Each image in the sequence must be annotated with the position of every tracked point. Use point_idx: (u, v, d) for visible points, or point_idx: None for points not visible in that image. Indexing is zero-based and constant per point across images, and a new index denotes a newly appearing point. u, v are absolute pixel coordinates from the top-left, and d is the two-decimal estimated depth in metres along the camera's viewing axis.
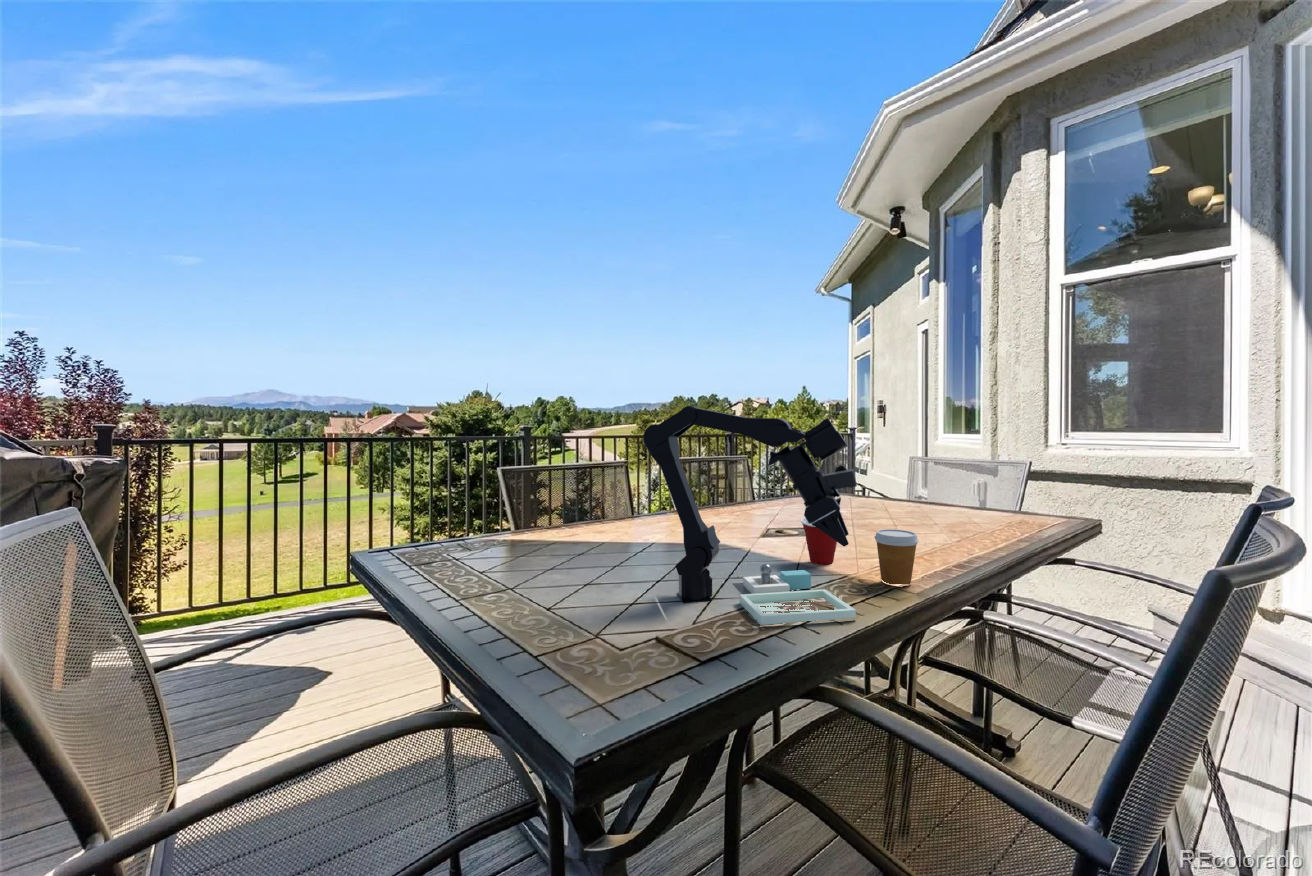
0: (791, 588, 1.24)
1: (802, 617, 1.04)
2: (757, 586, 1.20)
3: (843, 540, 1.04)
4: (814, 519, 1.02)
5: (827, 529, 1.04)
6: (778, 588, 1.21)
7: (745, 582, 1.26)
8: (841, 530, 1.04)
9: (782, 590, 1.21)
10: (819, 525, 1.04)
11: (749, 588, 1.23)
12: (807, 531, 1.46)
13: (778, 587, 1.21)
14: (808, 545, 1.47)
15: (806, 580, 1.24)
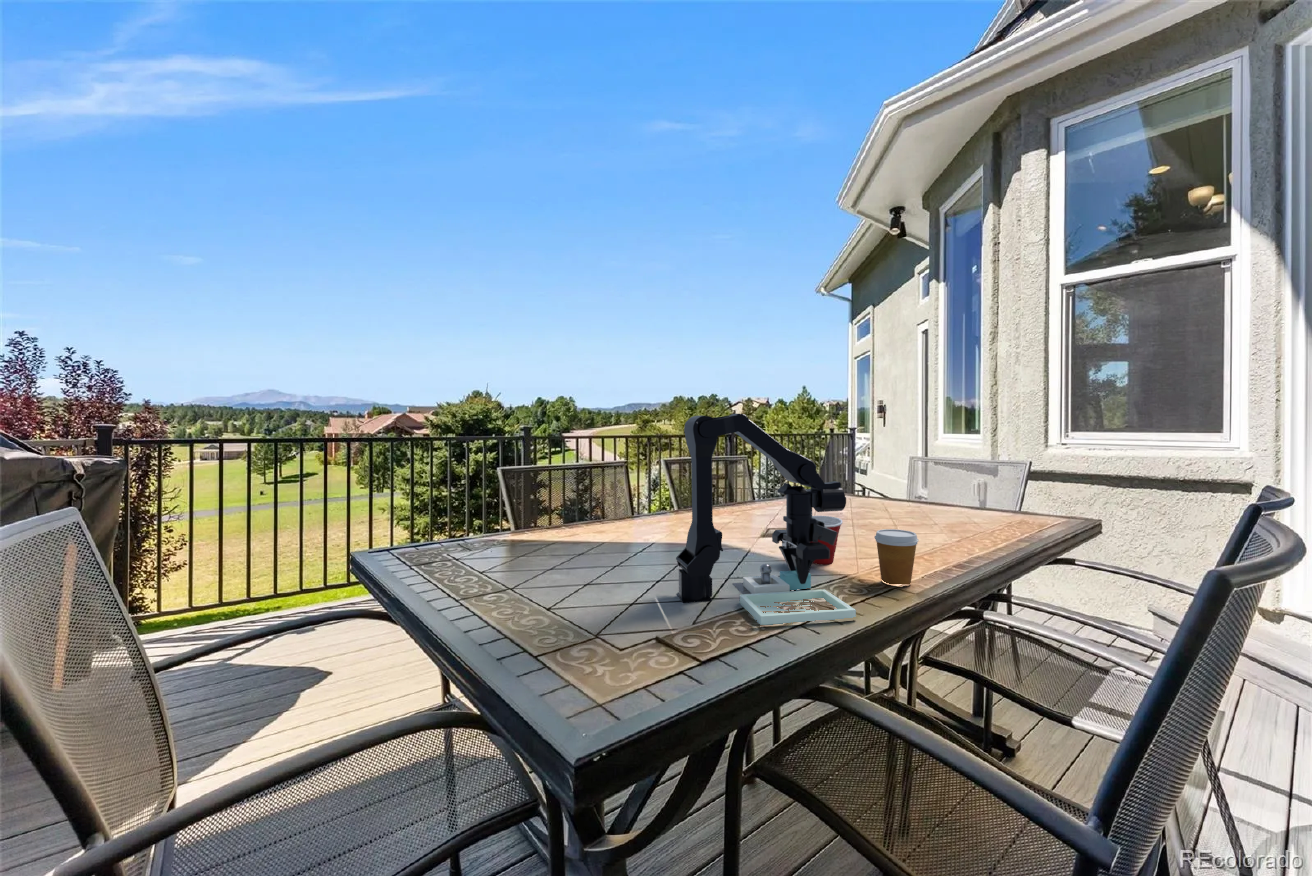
0: (791, 588, 1.24)
1: (802, 617, 1.04)
2: (757, 586, 1.20)
3: (804, 579, 1.23)
4: (809, 558, 1.16)
5: (800, 566, 1.22)
6: (778, 588, 1.21)
7: (745, 582, 1.26)
8: (807, 571, 1.23)
9: (782, 590, 1.21)
10: (797, 560, 1.21)
11: (749, 588, 1.23)
12: None
13: (778, 587, 1.21)
14: None
15: (806, 580, 1.24)
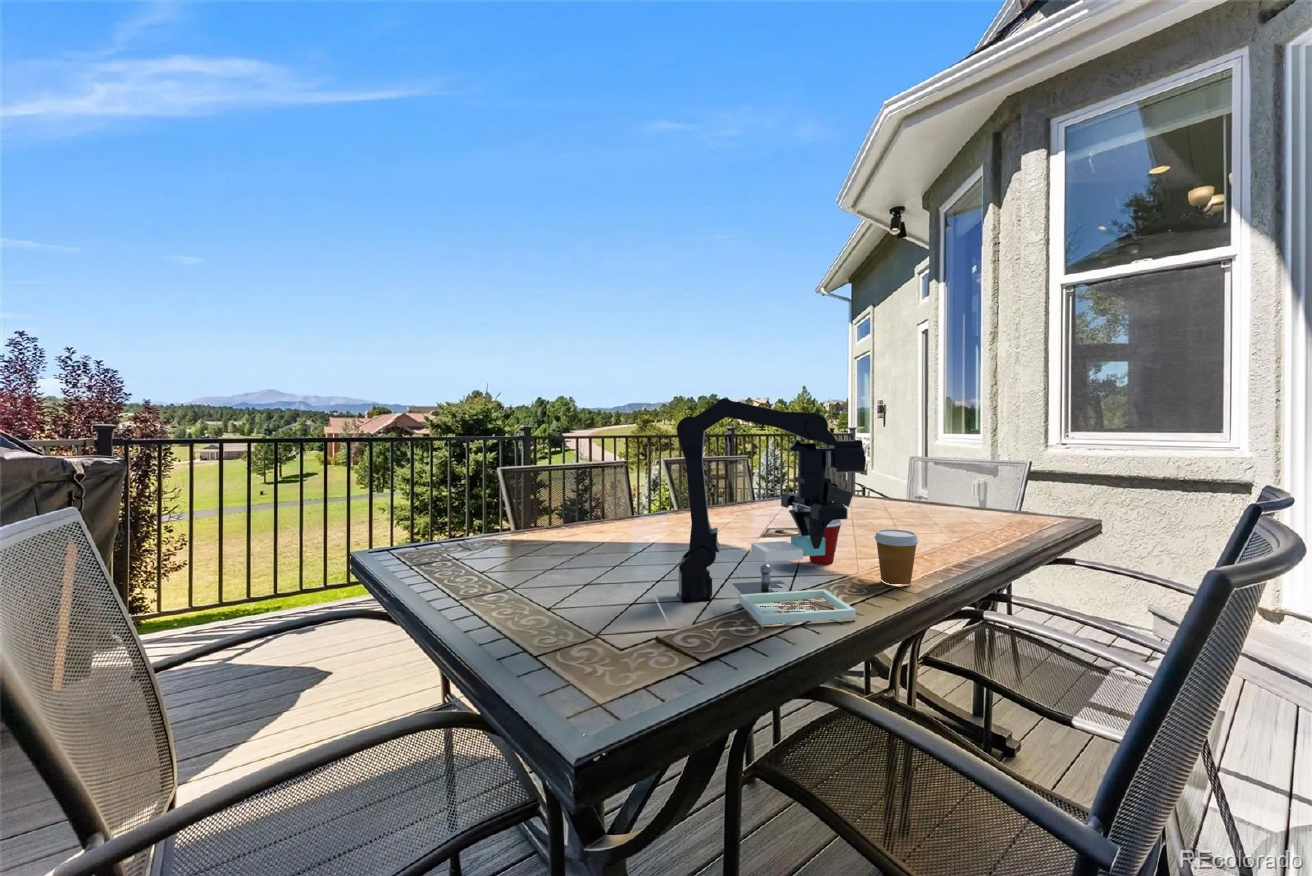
0: (804, 554, 1.14)
1: (802, 617, 1.04)
2: (768, 551, 1.11)
3: (817, 543, 1.14)
4: (825, 518, 1.06)
5: (814, 528, 1.12)
6: (791, 553, 1.11)
7: (754, 548, 1.16)
8: (821, 535, 1.13)
9: (795, 555, 1.11)
10: (811, 522, 1.12)
11: (759, 554, 1.13)
12: None
13: (791, 552, 1.11)
14: None
15: (820, 544, 1.15)
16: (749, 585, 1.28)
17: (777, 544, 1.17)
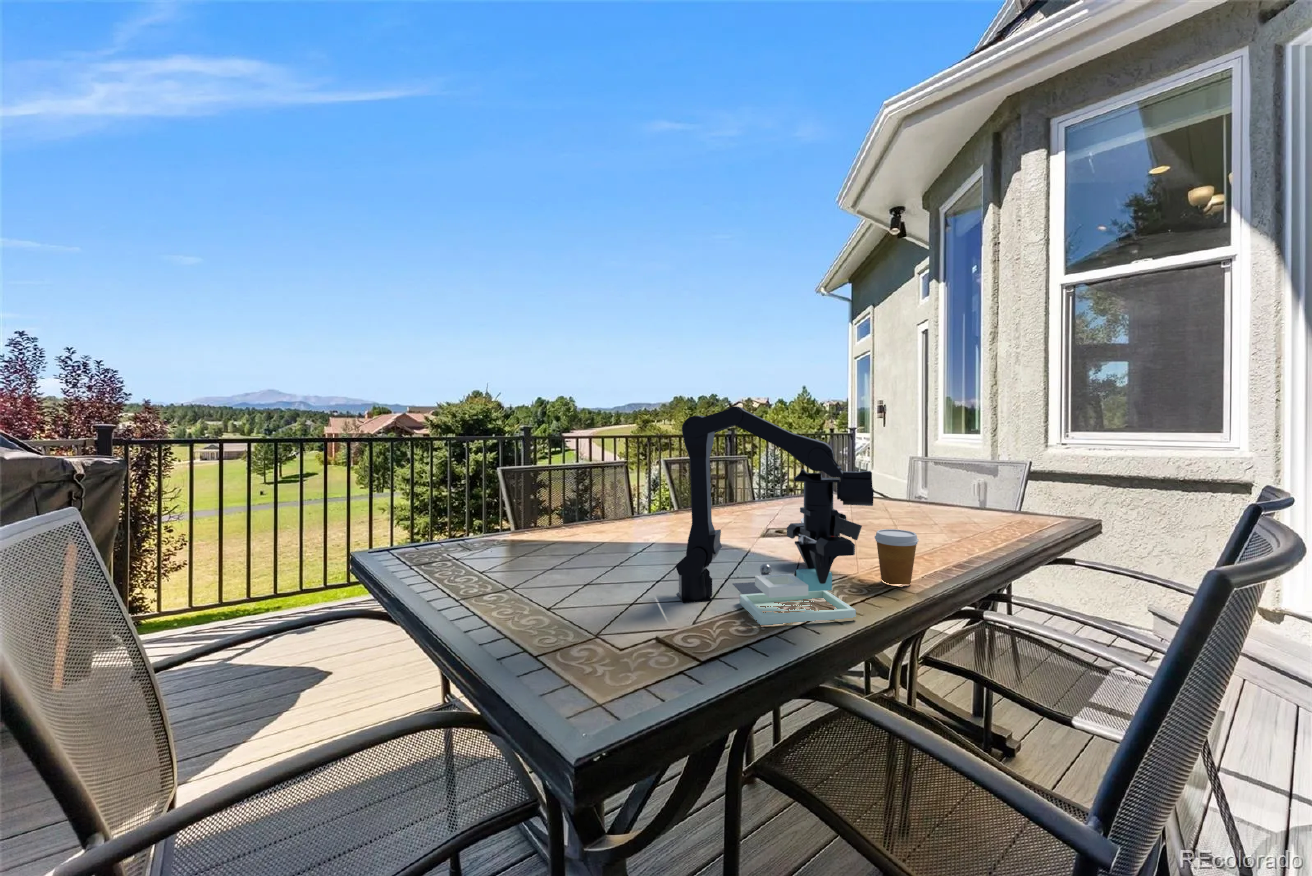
0: (810, 589, 1.09)
1: (802, 617, 1.04)
2: (772, 586, 1.06)
3: (824, 578, 1.09)
4: (831, 555, 1.02)
5: (820, 563, 1.08)
6: (796, 588, 1.06)
7: (757, 582, 1.12)
8: (828, 570, 1.09)
9: (800, 591, 1.07)
10: (817, 557, 1.07)
11: (762, 588, 1.09)
12: None
13: (795, 587, 1.06)
14: None
15: None
16: (749, 585, 1.28)
17: (782, 577, 1.13)
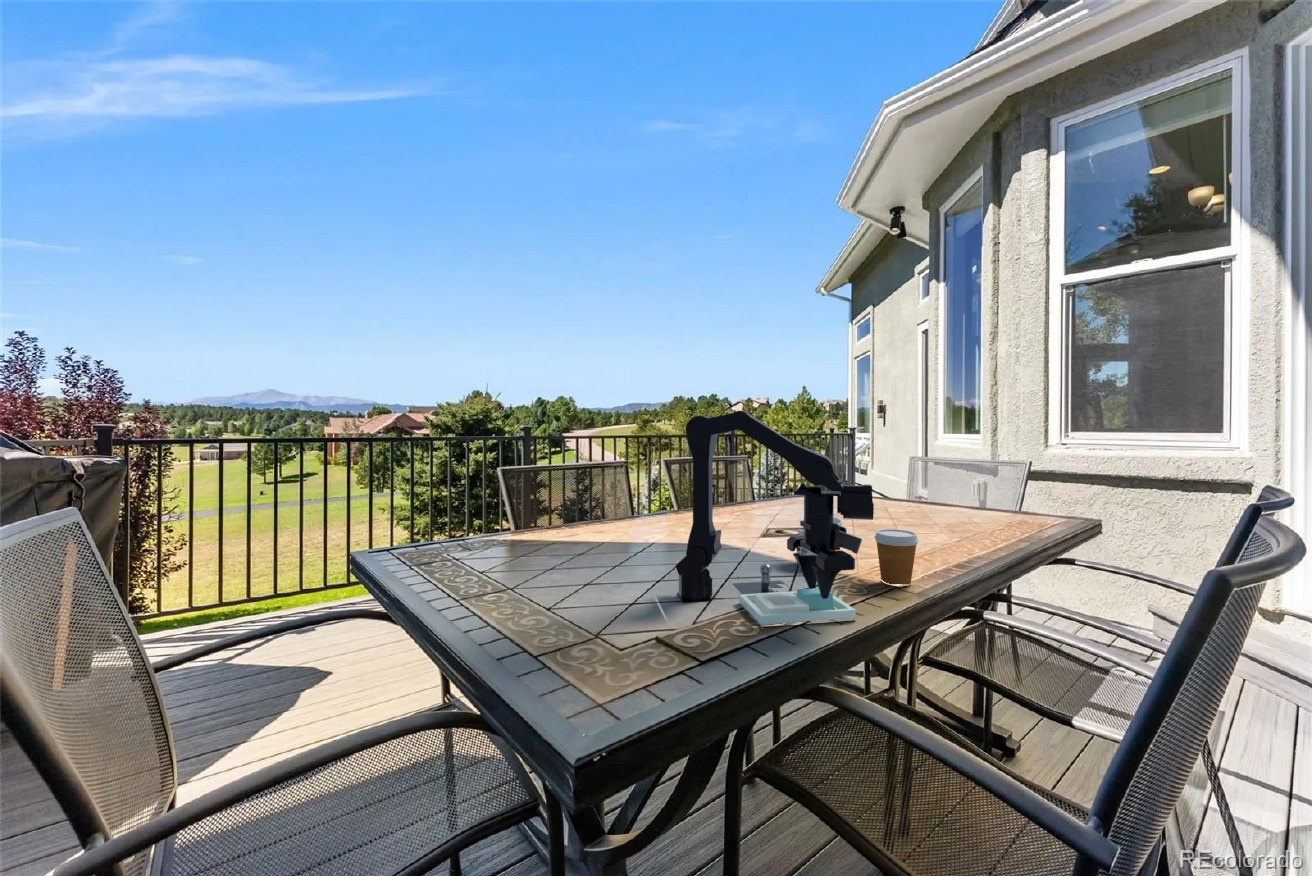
0: (811, 609, 1.09)
1: (802, 617, 1.04)
2: (772, 607, 1.06)
3: (826, 593, 1.08)
4: (832, 569, 1.02)
5: (822, 578, 1.07)
6: (796, 609, 1.07)
7: (758, 602, 1.12)
8: (830, 585, 1.08)
9: None
10: (819, 572, 1.06)
11: (763, 609, 1.09)
12: None
13: (796, 608, 1.07)
14: None
15: (827, 599, 1.10)
16: (749, 585, 1.28)
17: (783, 597, 1.13)
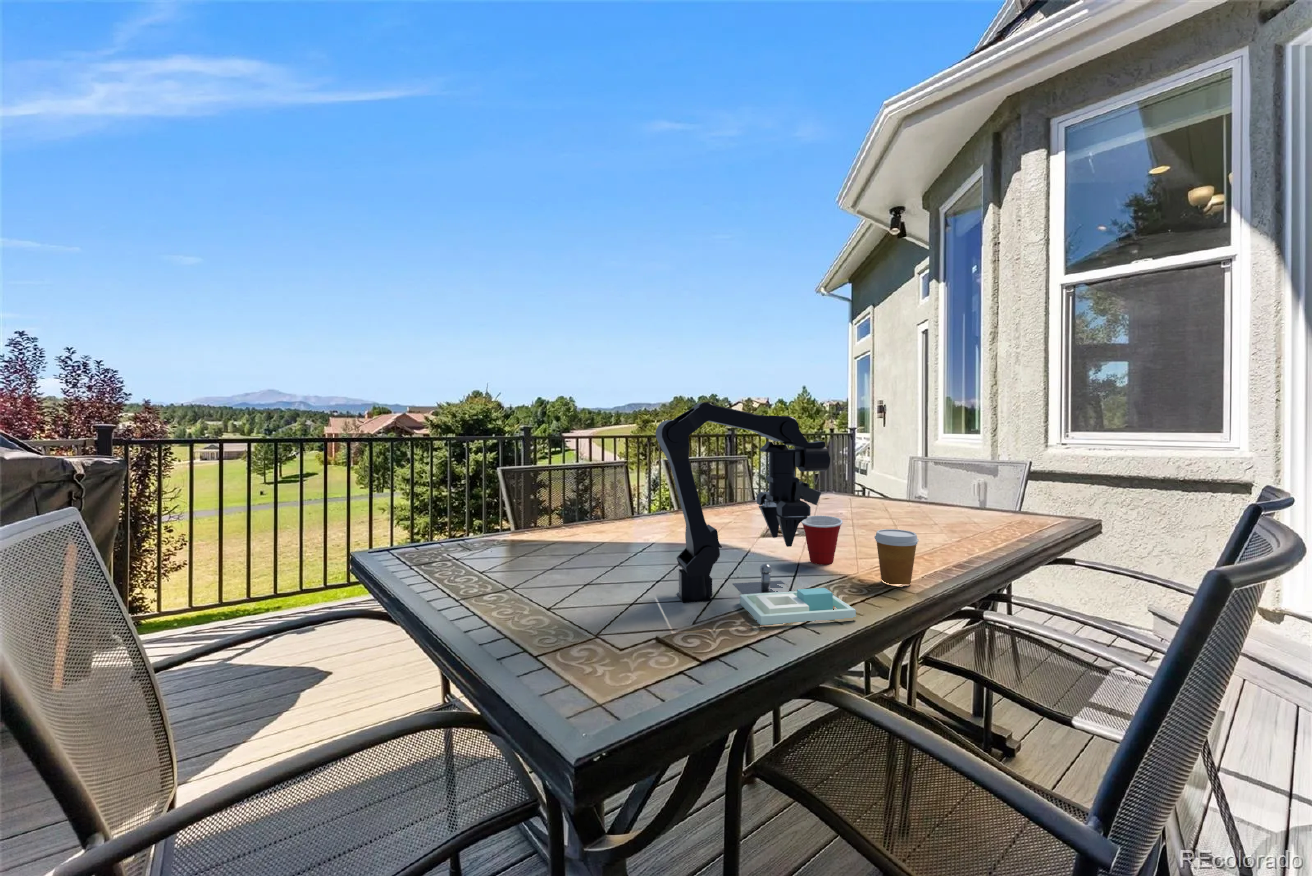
0: (811, 609, 1.09)
1: (802, 617, 1.04)
2: (772, 607, 1.06)
3: (790, 542, 1.18)
4: (788, 515, 1.14)
5: (786, 527, 1.17)
6: (796, 609, 1.07)
7: (758, 602, 1.12)
8: (794, 533, 1.18)
9: None
10: (783, 521, 1.17)
11: (763, 609, 1.09)
12: (807, 531, 1.46)
13: (796, 608, 1.07)
14: (808, 545, 1.47)
15: (827, 599, 1.10)
16: (749, 585, 1.28)
17: (783, 597, 1.13)
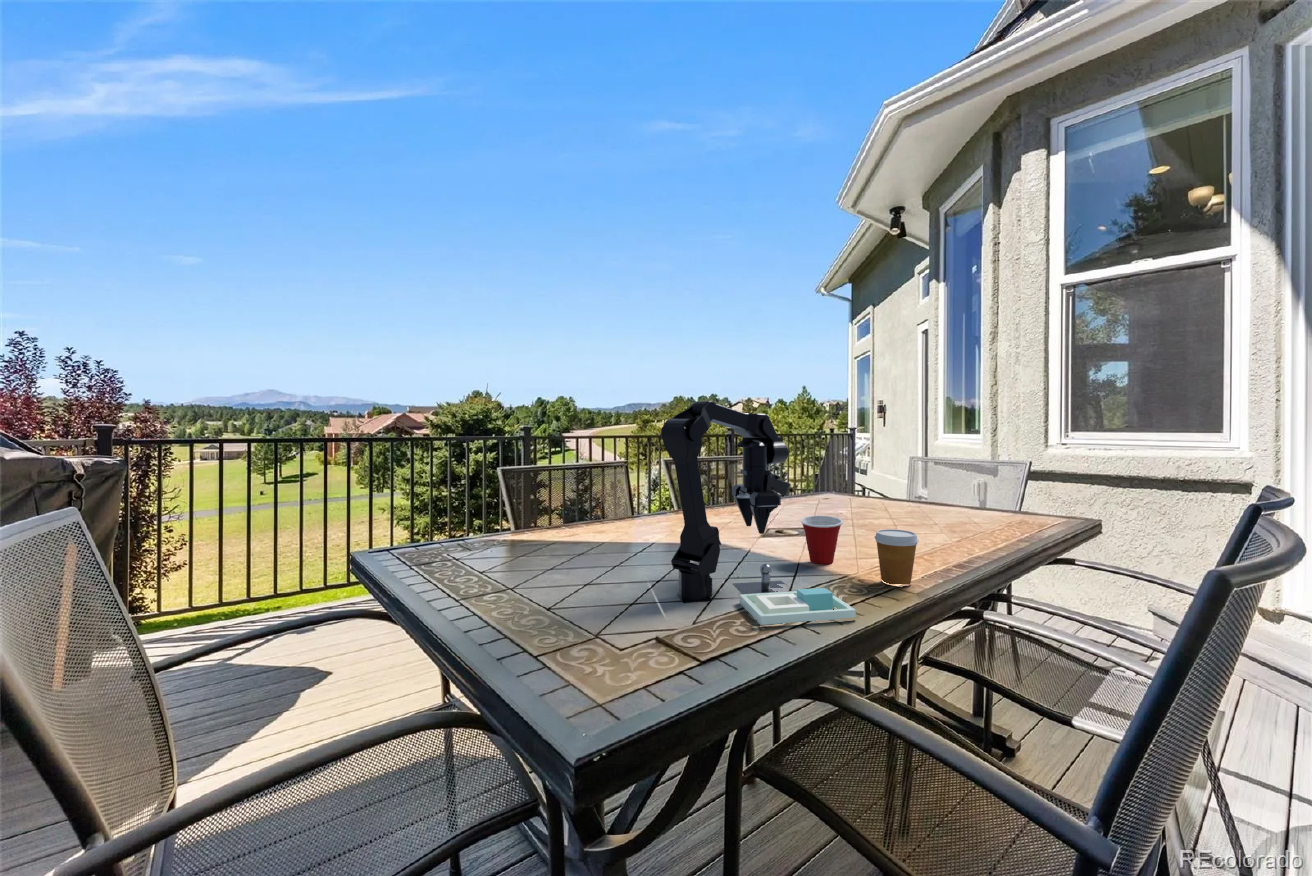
0: (811, 609, 1.09)
1: (802, 617, 1.04)
2: (772, 607, 1.06)
3: (762, 529, 1.29)
4: (761, 504, 1.24)
5: (758, 516, 1.28)
6: (796, 609, 1.07)
7: (758, 602, 1.12)
8: (766, 522, 1.29)
9: None
10: (756, 510, 1.27)
11: (763, 609, 1.09)
12: (807, 531, 1.46)
13: (796, 608, 1.07)
14: (808, 545, 1.47)
15: (827, 599, 1.10)
16: (749, 585, 1.28)
17: (783, 597, 1.13)
